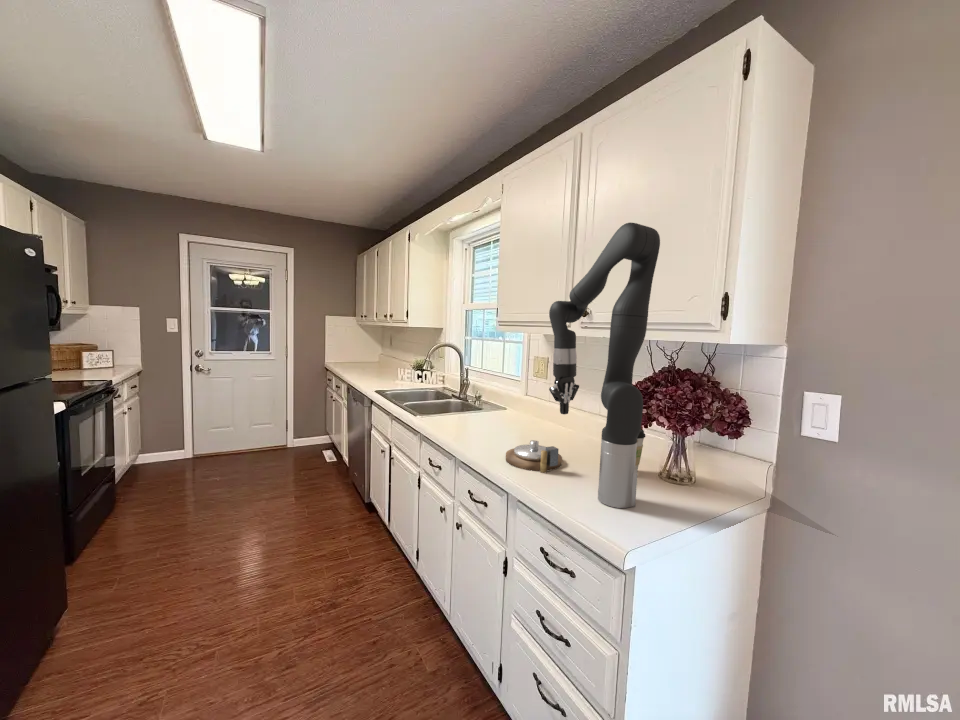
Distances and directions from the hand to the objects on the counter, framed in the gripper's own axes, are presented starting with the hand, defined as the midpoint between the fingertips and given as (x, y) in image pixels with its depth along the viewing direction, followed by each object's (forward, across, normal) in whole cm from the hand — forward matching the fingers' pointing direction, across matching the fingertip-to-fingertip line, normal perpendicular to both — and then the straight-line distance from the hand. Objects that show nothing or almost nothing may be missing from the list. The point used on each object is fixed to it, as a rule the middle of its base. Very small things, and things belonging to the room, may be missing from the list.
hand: (564, 413), depth 131 cm
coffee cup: (+20, -17, +13) cm, 29 cm away
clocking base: (+19, +2, -12) cm, 23 cm away
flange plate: (+17, +3, -9) cm, 19 cm away
